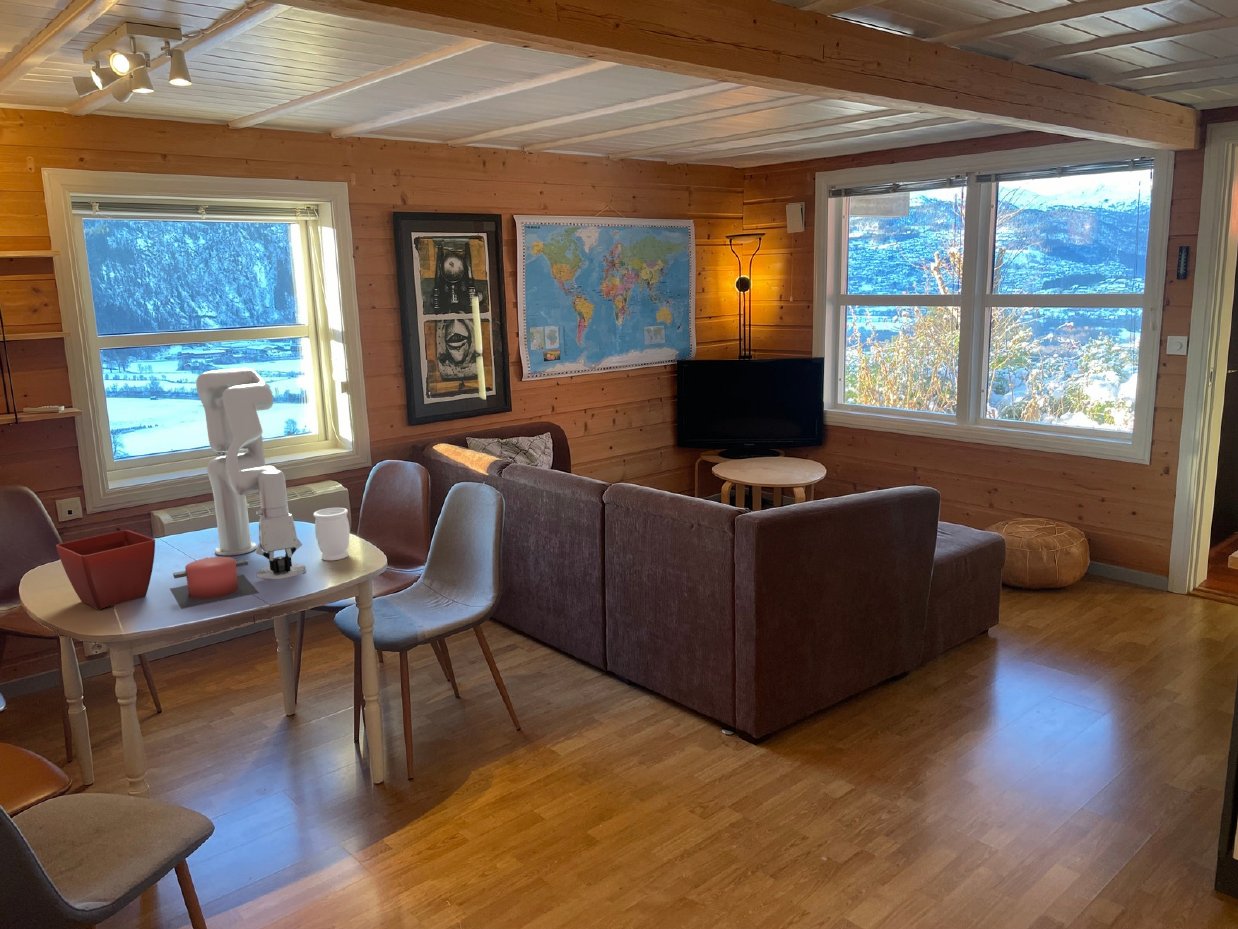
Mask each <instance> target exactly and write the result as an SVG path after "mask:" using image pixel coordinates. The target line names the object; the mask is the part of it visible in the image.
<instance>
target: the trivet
mask: <svg viewBox="0 0 1238 929" xmlns="http://www.w3.org/2000/svg"><path fill="white" fill-rule="evenodd" d="M237 578H238V587H239V588H238V589H237V590H236V591H235V592H233V593H231V594H228V595H225V596H221V597H216V598H208V599H197V598H192V597H190V596H189V593H188V585H182V586H176V587H171V588H169V590H170V592H171V593H172V595H173V597H174V599H175V600H176V603H177V604H178V606H179V607H180V609H182V610H183V609H187V608H192V607H197V606H202V605H207V604H211V603H216V602H222V601H226V600H231V599H235V598H240V597H241V598H242V597H246V596H251V595H255V594H259V591H258V589H257V588H256V587H254V585H253V584H252V582H250V581H249V580H248V578H247V577H246V575H244V574H239V575H238V574H237Z"/></svg>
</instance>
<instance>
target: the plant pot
mask: <svg viewBox="0 0 1238 929" xmlns="http://www.w3.org/2000/svg"><path fill="white" fill-rule="evenodd" d="M55 547H56V550H57V554H58V556H59V560H60V562H61V564H62V567H63V569H64V571H65V574H66V576H67V578H68V580H69V582H70V584H71V586H72V588H73V590H74V592H75V593H76V595H77V597H78V598H79V600H80V601H81V602H82V601H83V602H82V603H84V602H85V604H86V603H87V605H88V604H89V605H88V606H90V605H91V607H92V606H93V607H92V608H94V607H95V608H94V609H96V608H97V609H96V610H101V609H100V608H104V609H106V608H105V607H108V606H111V607H115V605H119V604H122V603H126V602H131V601H133V600H136V599H140V598H144V597H146V596H147V593H148V590H149V585H150V583H151V577H152V574H153V567H154V560H155V551H156V539H155V538H153V537H149V536H146V535H143V534H140V533H138V532H135V531H132V530H129V529H124V530H119V531H115V532H108V533H104V534H100V535H94V536H90V537H85V538H82V539H76V540H75V539H74V540H71V541H70V540H69V541H66V542H63V543H62V542H61V543H58V544H56V545H55ZM108 608H109V607H108Z"/></svg>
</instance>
